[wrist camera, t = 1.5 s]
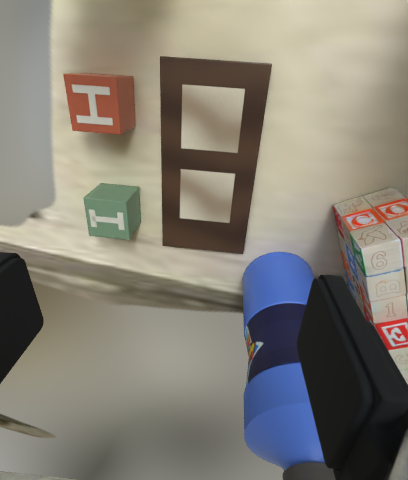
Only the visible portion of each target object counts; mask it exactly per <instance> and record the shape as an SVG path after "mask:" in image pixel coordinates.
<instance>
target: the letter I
mask: <svg viewBox="0 0 408 480" xmlns="http://www.w3.org/2000/svg"><path fill="white" fill-rule="evenodd" d="M84 204H85V210H86V217H87V223H88V229H89V235H90V236H96V237H106V238H116V239H125V240H130V238H131V237H132V235H133V233H134V232H135V230H136V229H137V227H138V226H139V224H140V222H141V211H140V194H139V187H136V186H125V185H114V184H103V183H101V184H100V185H98V186H97V187H96V188H95V189H94V190H92V191H91V192H90V193H89V194H88V195H86V196H85V197H84Z"/></svg>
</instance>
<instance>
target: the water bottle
mask: <svg viewBox="0 0 408 480" xmlns="http://www.w3.org/2000/svg"><path fill="white" fill-rule="evenodd" d="M313 279H315V277H314V274H313V272H312V269H311V267H310V266H309V264H308V263H307V262H306V261H305V260H304V259H302V258H300V257H299V256H297V255H294V254H291V253H285V252H274V253H268V254H265V255H263V256H260V257H259V258H257V259H255V260H254V261H253V262H251V263H250V264H249V266H248V267H247V268H246V270H245V272H244V275H243V313H244V336H245V340H246V345H247V350H248V355H249V362H248V372H247V383H246V388H245V392H244V431H245V432H244V433H245V441H246V444H247V446H248V447H249V448H250V450H251V451H252V452H253V453H255V454H256V455H257V456H259V457H260V458H262V459H264V460H266V461H268V462H270V463H273V464H275V465H277V466H280V467H282V468H283V470H284V473H283V480H336V479H335V475H334V472H333V469H330V468H328V467H327V466H326V464H325V461H324V457H323V453H322V449H321V445H320V441H319V437H318V433H317V429H316V425H315V421H314V417H313V413H312V408H311V404H310V400H309V396H308V392H307V388H306V384H305V380H304V376H303V372H302V368H301V364H300V360H299V356H298V351H297V338H298V334H299V330H300V326H301V323H302V319H303V315H304V311H305V307H306V304H307V300H308V296H309V292H310V288H311V285H312V281H313Z"/></svg>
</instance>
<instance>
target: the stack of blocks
mask: <svg viewBox="0 0 408 480" xmlns="http://www.w3.org/2000/svg"><path fill="white" fill-rule="evenodd" d="M333 208H334V213H335V218H336V223H337V227H338V229H337V231H338V237H339V242H340V247H341V252H342V257H343V263H344V268H345V270H346V275H347V280H348V285H349V289H350V292H351V294H352V296H353V297H354V299H355V301H356V303H357V305H358V306H359V308H360V310H361V312H362V314H363V315H364V317H365V319H366V321H369V322H371V323H372V325H373V326H374V327H375V329H376V331H377V332H378V334H379V336H380V338H381V339H382V341H383V343H384V344H385V346H386V348H387V350H388V351H389V353H390V355H391V357H392V358H393V360H394V362H395V364H396V365H397V367H398V369H399V370H400V372H401V374H402V376H403V377H404V379H405V381H406V383H407V384H408V198H406V197H405V196H404V195H402V194H401V193H400V192H398V191H397V190H396V189H394V188H393V187H391V188H388V189H385V190H381V191H378V192H374V193H371V194H368V195H364V196H360V197H356V198H353V199H350V200H346V201H343V202H340V203H337V204H334V205H333Z"/></svg>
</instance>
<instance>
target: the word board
mask: <svg viewBox="0 0 408 480" xmlns="http://www.w3.org/2000/svg"><path fill="white" fill-rule="evenodd" d="M271 67H272V64H266V63H252V62H237V61H222V60H207V59H192V58H177V57H162V56H161V57H160V86H161V155H162V224H163V246H172V247H182V248H192V249H201V250H211V251H221V252H230V253H240V254H243V251H244V244H245V238H246V231H247V225H248V218H249V212H250V205H251V198H252V192H253V185H254V179H255V172H256V166H257V159H258V152H259V146H260V139H261V133H262V126H263V119H264V113H265V106H266V100H267V93H268V87H269V80H270V73H271Z"/></svg>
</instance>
